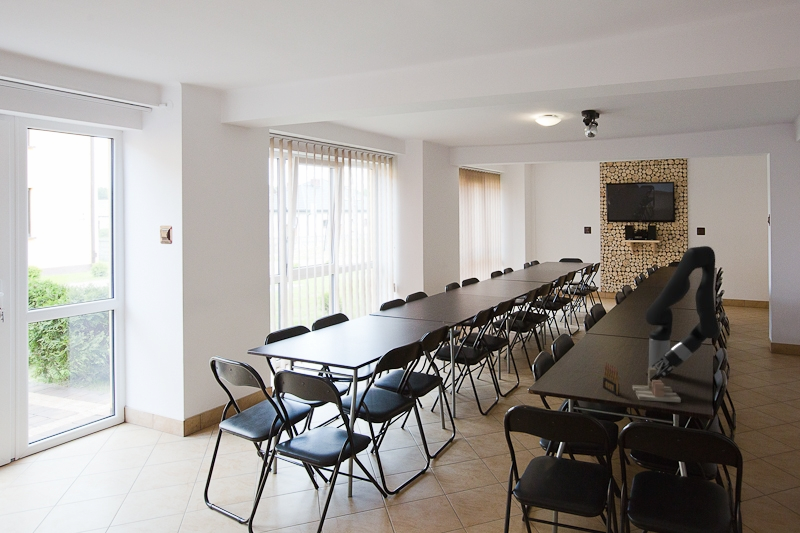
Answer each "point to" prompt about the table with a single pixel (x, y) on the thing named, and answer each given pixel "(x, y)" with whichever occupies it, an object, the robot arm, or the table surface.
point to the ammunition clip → (611, 379)
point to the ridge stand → (658, 393)
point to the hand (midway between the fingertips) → (649, 378)
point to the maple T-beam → (650, 383)
